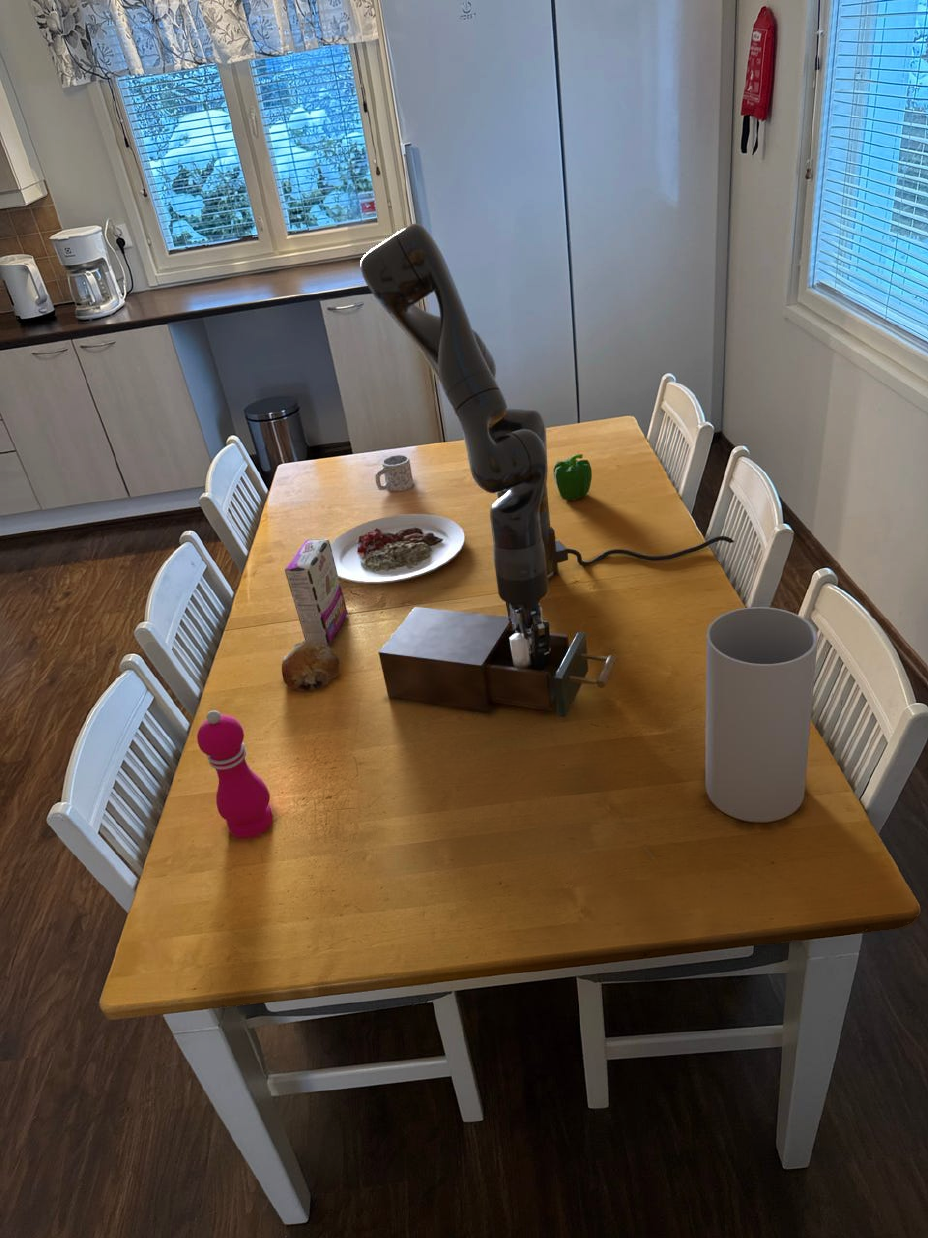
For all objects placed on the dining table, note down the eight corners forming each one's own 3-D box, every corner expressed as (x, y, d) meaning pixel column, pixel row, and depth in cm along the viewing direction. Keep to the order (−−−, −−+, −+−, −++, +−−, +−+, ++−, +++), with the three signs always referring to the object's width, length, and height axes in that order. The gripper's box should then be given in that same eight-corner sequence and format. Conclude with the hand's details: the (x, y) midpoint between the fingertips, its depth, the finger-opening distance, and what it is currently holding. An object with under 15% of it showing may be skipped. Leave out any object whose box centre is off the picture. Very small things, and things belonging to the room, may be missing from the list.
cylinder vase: (698, 816, 118) (698, 659, 105) (713, 754, 128) (715, 603, 115) (799, 833, 114) (813, 671, 100) (807, 767, 123) (821, 611, 110)
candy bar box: (324, 613, 176) (305, 538, 167) (348, 613, 174) (330, 537, 166) (304, 646, 166) (282, 568, 158) (329, 646, 165) (309, 568, 157)
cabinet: (518, 663, 153) (512, 617, 148) (488, 714, 142) (481, 665, 138) (423, 651, 160) (414, 606, 155) (388, 698, 149) (378, 652, 145)
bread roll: (350, 684, 161) (350, 639, 159) (321, 696, 151) (321, 648, 150) (301, 679, 164) (300, 635, 163) (269, 690, 154) (269, 644, 153)
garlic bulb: (554, 670, 140) (551, 640, 137) (515, 676, 140) (511, 646, 137) (548, 650, 144) (546, 621, 142) (511, 656, 145) (507, 627, 142)
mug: (402, 477, 228) (397, 452, 224) (418, 483, 223) (414, 458, 220) (370, 492, 222) (365, 467, 219) (387, 498, 218) (382, 472, 214)
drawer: (623, 674, 145) (621, 635, 141) (602, 723, 135) (599, 683, 131) (493, 658, 154) (488, 621, 150) (464, 703, 144) (458, 665, 140)
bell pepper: (548, 501, 205) (544, 459, 199) (566, 486, 210) (563, 445, 205) (581, 506, 200) (578, 464, 195) (598, 491, 206) (596, 449, 200)
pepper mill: (229, 809, 132) (189, 699, 121) (279, 801, 132) (242, 691, 121) (222, 845, 126) (179, 733, 115) (274, 837, 126) (235, 724, 115)
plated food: (437, 593, 176) (434, 578, 174) (301, 585, 186) (297, 571, 185) (484, 523, 200) (482, 509, 198) (361, 519, 210) (358, 506, 208)
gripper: (563, 580, 128) (571, 677, 137) (527, 539, 140) (537, 631, 149) (513, 594, 127) (525, 691, 136) (481, 551, 139) (494, 643, 148)
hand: (531, 659), depth 142 cm, fingers closed on garlic bulb, 5 cm apart
